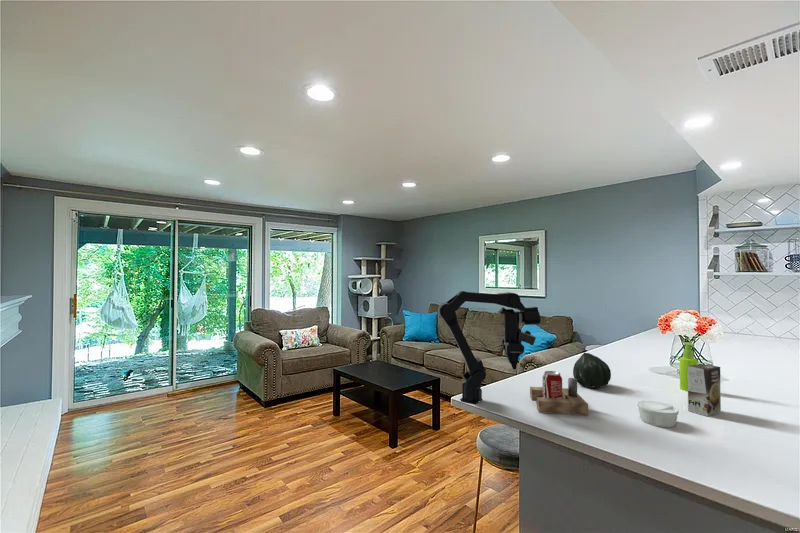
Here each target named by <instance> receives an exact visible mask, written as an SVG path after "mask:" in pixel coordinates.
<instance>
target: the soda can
mask: <svg viewBox="0 0 800 533" xmlns="http://www.w3.org/2000/svg"><path fill="white" fill-rule="evenodd" d="M542 387H543V398H558V399H562V388H563V378H562V376H561V372H559V371H555V370H546V371H544V374H543V375H542Z"/></svg>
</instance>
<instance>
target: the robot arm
mask: <svg viewBox="0 0 800 533" xmlns="http://www.w3.org/2000/svg"><path fill="white" fill-rule="evenodd" d="M466 302H467V303H468V302H469V303H470V302H471V303H483V304H496V305H499V306H502V307H501V308H500V309H499V310H498V311H497V313H498V314H500V315H503V336H502V337H501V346H502V347H503V351H504V352H505V354H506V357H507V359H508V362H509V364H510V366H511V368H512V370H516V369H517V366H518V362H519V358H520V356H521V355H522V354H524V353H525V346H524V344H523V342H524V343H527V344H529V345H530V346H534V344H535V342H536V339H537V338H536V336H534V335H533V334H531V331H530V330H527V329H525V331H522V329H521V328H520V323H522V325H523V326H536V325H537V326H538V325H540V324H541V318H542V317H541V314H540V311H539V308H538V307H537V306H531V307H528V306H527V307H526V306H525V305H524V304H523V302H521V297H520V295H519V294H517V293H515V292H509V291H507V292H499V293H487V292H473V291H466V290H460V291H458V292H457V293H456V294H455V295H454V296H453V297H451V298H450V299H448V300H447V301H446V302H442V303H440V304H439V306H438V307H437V312H438V313H437V314H439V316H440V317H441V319H442V320H443V321H444V323H445V324H446V325H447V327H448V329H449V330H450V332H451V334H452V337H453V339H454V340H455V342H456V344H457V346H458V348H459V351H460V352H461V355H462V357H463V359H464V362H465V367H466V372H464V373H463V375H462V376H461V378H462V380H463V383H462V384H461V385H462V386H461V388H462V390H461V393H462V394H461V396H462V397H461V398H460V399H459V400H461V402H465V403H469V404H472V405H476V404H478V403H480V402H481V401H483V400H484V399H483V394H482V393H483V392H482V391H483V390H482V388H481V386H482V383H483V382H484V381H485V380H486V376H487V373H486V371H487V369H486V368H485V366H484V364H483V360H482V359H481V358H480V357H479V356H477V357H475V356H474V353H473V352H472V349H471V346H469V343H468V340H467V339H466V337H465V335H464V333H463V331H462V329H461V327H460V325H459V321H458V318H457V317H458V316H457V313H456V311H457V310H459V308H460V307H461V306H463V305H464V303H466ZM506 307H507V308H508V309H507V308H506Z"/></svg>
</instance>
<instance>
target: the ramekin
mask: <svg viewBox="0 0 800 533" xmlns="http://www.w3.org/2000/svg"><path fill="white" fill-rule="evenodd" d="M636 405H637V409H638V413H639V418H640V419H641V420H642V421H643V422H644V423H645V424H648V425H650V426H653V427H654V426H655V427H658V428H673V427H674V426H675V425H676V424H677V419H678V415H679V412H680V411H679V409H678V408H677V407H676V406H674V405H671V404H668V403H665V402H661V401H654V400H640V401H637V404H636Z"/></svg>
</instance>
